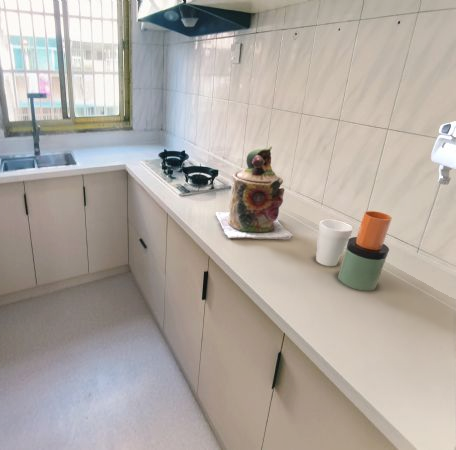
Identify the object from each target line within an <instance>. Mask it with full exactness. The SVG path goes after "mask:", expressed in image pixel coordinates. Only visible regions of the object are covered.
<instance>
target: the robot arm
mask: <svg viewBox="0 0 456 450" xmlns="http://www.w3.org/2000/svg"><path fill="white" fill-rule="evenodd" d="M438 133H439V135H438V136H437V138H436V140H435V142H434V145H433V148H432V151H431V154H430V159H431V162H432V163H435V164H437V165H439V167H438V175H439V177H438V180H437V183H438V184H441V185H449V184H450V182H451V179H452V177H450V171H452V170H455V171H456V120H453V121H451V122H447V123H443V124H441V125H440V127H439V129H438Z"/></svg>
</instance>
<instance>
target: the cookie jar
mask: <svg viewBox="0 0 456 450" xmlns="http://www.w3.org/2000/svg"><path fill="white" fill-rule="evenodd" d="M272 148H273V146H272V145H269V147H268V148H261V149H260V148H259V149H254V150H252V151H250V152H249V153H248V154H247V156H246V160H245V161H246V166H247V168H245V170H240V171H235V172H233V174H232V176H231V179H232V181H233V182H234V183H233V186H232V187H233V188H232V191H231V194H230V200H229V203H228V211H227V212H225V211H216V212H215V215H216V218H217V219H218V221H219V224H220V226H221V228H222V230H223V232H224V234H225V235H226V237H227V238H228V239H245V238H248V239H253V240H255V239H257V240H260V239H261V240H289V239H290V238H291V237H293V235H294V234H292V233H291V232H290V231H289V230H288V229H286V228H285V227H284V226H283V224H281V222H279V220H278V218H279V217H278V216H279V214H280V213H279V212H280V207H281V206H282V204H283V203H284V194H285V188H284V187H282V188H281V186H282V184H283V182H284V179H283V178H282V177H280V176H279V175H278V174H276V173H275V172H274V170H273V169H272V165H271V164H272V153H271V150H272Z"/></svg>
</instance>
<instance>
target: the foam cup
mask: <svg viewBox="0 0 456 450" xmlns="http://www.w3.org/2000/svg"><path fill="white" fill-rule="evenodd" d="M353 228H354V227H353V226H352V225H351V224H349V223H347V222H344V221H341V220H338V219H329V218H328V219H322V220H320V221H319V224H318V228H317V232H318V233H317V243H316V244H317V245H316V253H315V260H316V262H317V263H319V264H320V265H323V266H326V267H335V266H337V264H338V263H339V260H341V259H340V258H341V256H342V254H343V252H344V251H345V249H346V248H345V247H347V243H348V240H349V239H350V238H352V233H353Z"/></svg>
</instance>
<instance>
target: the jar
mask: <svg viewBox="0 0 456 450" xmlns="http://www.w3.org/2000/svg"><path fill="white" fill-rule="evenodd" d="M345 247H346V248H345V250H344V254H343V258H342V261H341V265H340V268H339V271H338V276H337V278H338V280H339V281H340V282H341V283H342V284H343V285H345V286H347V287H348V288H351V289H355V290H358V291H364V292H365V291H366V292H368V291H369V292H370V291H374V290H375V289H376V288H377V285H378V282H379V280H380V276H381V274H382V271H383V268H384V265H385V263H386V260H387V257H386V258H384V259H369V258H365V257H361V256H358V255H356V254H354V253H352V252H351V251H349V250H348V249H347V246H345Z"/></svg>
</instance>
